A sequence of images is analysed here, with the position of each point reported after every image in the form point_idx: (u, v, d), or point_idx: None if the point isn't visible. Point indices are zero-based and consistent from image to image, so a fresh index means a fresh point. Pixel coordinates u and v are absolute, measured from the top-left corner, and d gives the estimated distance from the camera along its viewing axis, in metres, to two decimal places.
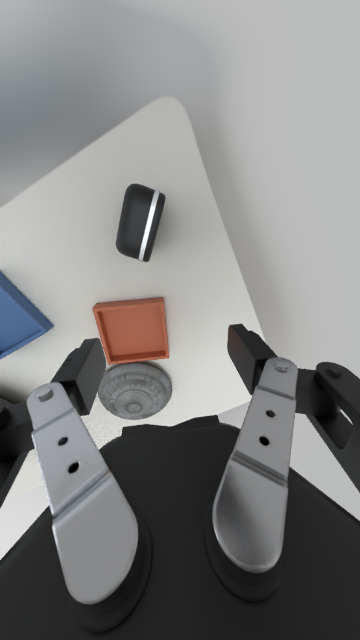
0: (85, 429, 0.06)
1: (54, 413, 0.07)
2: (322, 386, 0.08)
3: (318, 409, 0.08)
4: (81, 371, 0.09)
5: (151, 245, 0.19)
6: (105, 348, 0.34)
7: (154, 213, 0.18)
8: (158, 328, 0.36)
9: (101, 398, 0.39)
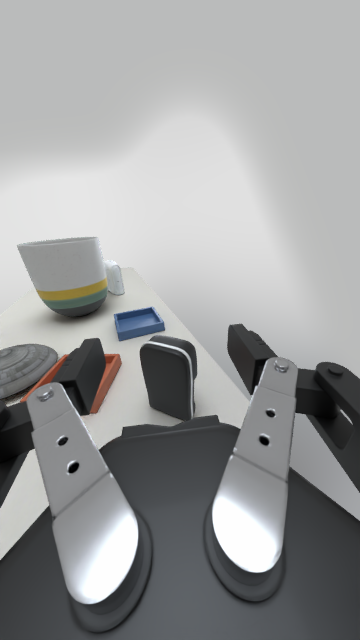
0: (85, 429, 0.06)
1: (54, 413, 0.07)
2: (322, 385, 0.08)
3: (318, 409, 0.08)
4: (81, 371, 0.09)
5: (150, 347, 0.23)
6: None
7: (173, 349, 0.23)
8: None
9: (37, 344, 0.42)
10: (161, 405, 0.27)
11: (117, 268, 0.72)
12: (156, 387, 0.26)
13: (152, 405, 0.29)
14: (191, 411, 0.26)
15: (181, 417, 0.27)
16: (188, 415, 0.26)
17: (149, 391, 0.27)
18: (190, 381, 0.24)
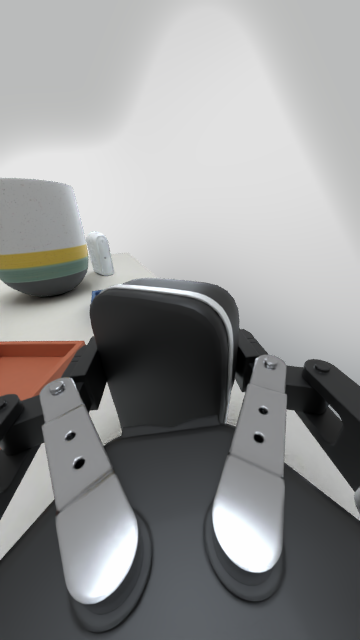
0: (92, 426, 0.06)
1: (64, 407, 0.07)
2: (309, 382, 0.08)
3: (306, 405, 0.08)
4: (90, 367, 0.09)
5: (114, 294, 0.08)
6: (20, 342, 0.23)
7: (179, 296, 0.07)
8: None
9: None
10: None
11: (104, 240, 0.57)
12: (135, 405, 0.11)
13: None
14: None
15: None
16: None
17: (121, 413, 0.12)
18: (226, 395, 0.08)
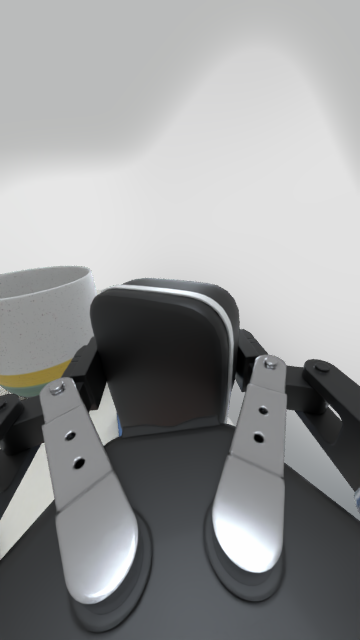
0: (92, 426, 0.06)
1: (64, 407, 0.07)
2: (310, 382, 0.08)
3: (306, 405, 0.08)
4: (90, 367, 0.09)
5: (114, 294, 0.08)
6: None
7: (179, 296, 0.07)
8: None
9: None
10: None
11: None
12: (135, 405, 0.11)
13: None
14: None
15: None
16: None
17: (121, 414, 0.12)
18: (226, 395, 0.08)
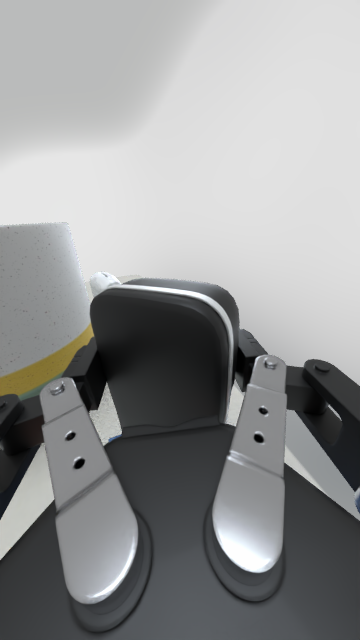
0: (92, 426, 0.06)
1: (64, 407, 0.07)
2: (309, 382, 0.08)
3: (306, 405, 0.08)
4: (90, 367, 0.09)
5: (114, 294, 0.08)
6: None
7: (179, 296, 0.07)
8: None
9: None
10: None
11: None
12: (135, 405, 0.11)
13: None
14: None
15: None
16: None
17: (121, 413, 0.12)
18: (226, 395, 0.08)
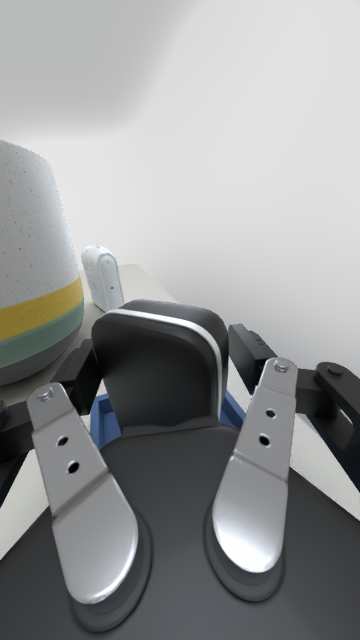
0: (85, 429, 0.06)
1: (54, 413, 0.07)
2: (322, 386, 0.08)
3: (318, 409, 0.08)
4: (81, 371, 0.09)
5: (114, 320, 0.09)
6: None
7: (172, 324, 0.08)
8: None
9: None
10: None
11: (110, 261, 0.35)
12: (134, 416, 0.12)
13: None
14: None
15: None
16: None
17: (121, 423, 0.13)
18: (216, 410, 0.09)
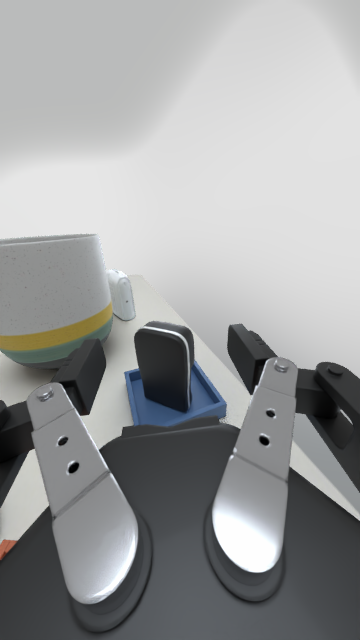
0: (85, 429, 0.06)
1: (54, 413, 0.07)
2: (322, 386, 0.08)
3: (318, 409, 0.08)
4: (81, 371, 0.09)
5: (146, 331, 0.22)
6: None
7: (169, 333, 0.21)
8: None
9: None
10: (156, 395, 0.26)
11: (126, 282, 0.48)
12: (151, 375, 0.25)
13: (146, 396, 0.27)
14: (188, 401, 0.25)
15: (177, 407, 0.25)
16: (185, 405, 0.25)
17: (144, 380, 0.26)
18: (187, 368, 0.22)
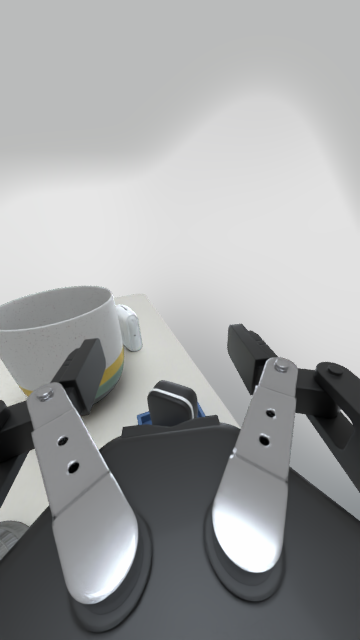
0: (85, 429, 0.06)
1: (54, 413, 0.07)
2: (322, 385, 0.08)
3: (318, 409, 0.08)
4: (81, 371, 0.09)
5: (157, 395, 0.27)
6: None
7: (177, 398, 0.26)
8: None
9: (7, 529, 0.22)
10: None
11: (134, 319, 0.53)
12: None
13: None
14: None
15: None
16: None
17: None
18: None
